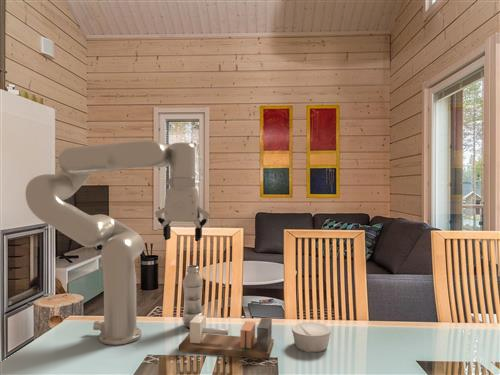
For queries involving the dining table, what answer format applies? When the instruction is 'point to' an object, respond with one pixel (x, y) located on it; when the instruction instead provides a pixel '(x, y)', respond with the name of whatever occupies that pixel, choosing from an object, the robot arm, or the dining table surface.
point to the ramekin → (311, 336)
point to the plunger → (202, 329)
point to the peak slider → (247, 335)
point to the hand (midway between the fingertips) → (182, 239)
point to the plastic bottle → (192, 294)
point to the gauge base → (234, 343)
